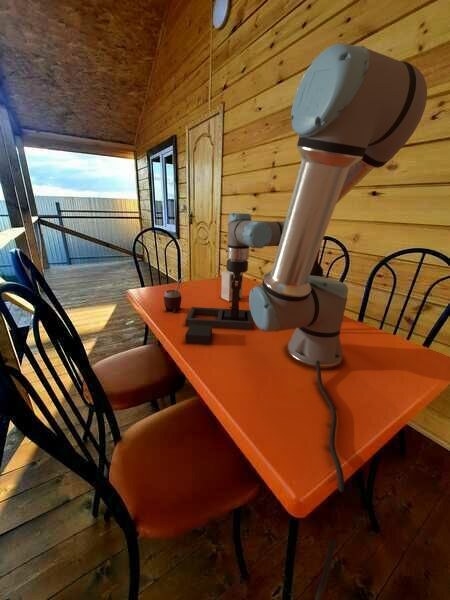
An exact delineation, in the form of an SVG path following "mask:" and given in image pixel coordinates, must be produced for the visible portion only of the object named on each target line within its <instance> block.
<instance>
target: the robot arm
mask: <svg viewBox="0 0 450 600" xmlns="http://www.w3.org/2000/svg"><path fill="white" fill-rule="evenodd" d="M427 99H428V86H427V82H426V79H425V76H424V74H423V73H422V72H421V70H420V69H419V68H418V67H417V66H416V65H414V64H413V63H410V62H407V61H404V60H403V61H402V60H399V59H395V58H393V57H390V56H387V55H385V54H382V53H380V52H377V51H375V50H372V49H370V48H368V47H366V46H364V45H353V44H348V43H344V42H339V43H334V44H332V45H330V46H328V47H326V48H325V49H324V50H323V51H321V52H320V53H319V54H318V55H317V56H316V57H315V58H314V59H313V61H312V63H311V64H310V66H309V67H307V70H306V71H305V72H304V74H303V76H302V78H301V80H300V82H299V85H298V87H297V89H296V92H295V95H294V97H293V102H292V107H291V112H290V113H291V114H290V117H291V119H292V120H291V127H292V129H293V131H294V133H295V134H296V135H297V136H298V140H297V144H296V149H297V151H298V153H299V155H300V157H301V161H300V165H299V169H298V172H297V176H296V180H295V183H294V188H293V191H292V195H291V198H290V202H289V206H288V210H287V213H286V217H285V218H284V220H282V221H279V220H278V221H275V220H274V221H271V220H252V215H251V214H250V213H244V212H231V213H229V215H228V222H227V249H225V253H226V258H227V260H226V271H229V272H233V274H234V275H231V282H232V284H231V288H232V289H233V290H232V301H231V305H230V306H229V309H231V320H234V321H238V315H239V310H240V300H241V297H239V293H240V289H241V282H242V275H240V273H241V272H243V274H244V273H246V272H248V271H249V261H248V260H249V258H250V248H251V249H264V248H266V247H277V250H276V254H275V257H274V261H273V265H272V268H271V270H269V271H267V272H265V273H264V275H263V278H262V281H261V285H256V286H253V287H252V288H251V290H250V291H249V295H248V305H249V310H250V311H251V316H252V321H253V322H254V324H255V325H256V327H257V328H258V329H259V330H260V331H262V332H265V333H270V332H275V333H277V332H282V331H288V330H294V332H293V333H292V335H291V337H290V339H289V340H288V343H287V349H286V351H287V354H288V356H289V357H290V358H291V359H292V360H294V361H295V362H296V363H298V364H301V365H303V366H305V367H309V368H313V369H316V374H317V375H316V376H317V383H318V387H319V390H320V391H321V393H322V395H323V397H324V398H325V400H326V402H327V403H328V406H329V408H330V412H331V425H330V430H329V431H330V432H329V450H330V454H331V458H332V460H333V463H334V466H335V471H336V477H337V489H338V491H339V492H340V493H345V480H344V479H345V478H344V472H343V468H342V464H341V461H340V459H339V456H338V453H337V450H336V446H335V445H336V444H335V441H336V439H335V438H336V437H335V436H336V431H337V423H338V418H337V411H336V408H335V405H334V403H333V401H332V399H331V398H330V396H329V395H328V393H327V392H326V390H325V387H324V385H323V382H322V381H323V380H322V371H321V370H329V369H334V368H338V367H339V366H340V365H341V363H342V359H343V349H342V343H341V337H340V335H341V330H342V325H343V320H344V317H345V316H344V315H345V311H346V306H347V301H348V300H349V299H348V294H349V288H348V286H347V284H345V283H344V282H342V281H340V280H337V279H333V278H329V277H324V276H323V277H320V276H311V275H310V273H311V270H312V268H313V265H314V262H315V259H316V257H317V254H318V251H319V249H320V250H321V246H322V243H323V241H324V238H325V235H326V232H327V229H328V227H329V224H330V222H331V218H332V216H333V214H334V210H335V208H336V205H337V204H338V203H339V202H341V200H342V199H343V198H344V197H346V195H348V193H350V192H351V191H352V190H353V189H354V188H355V187H356V186H357V185H358V184H359V183H360V182H361V181H362V180H363V179H364V178H366V176H368V174H369V173H371V172H372V170H374V169H381V168H383V167H384V166H385V165H386V164H387V163H388V162H389V161H390V160H392V158H394V157H395V156H396V155H397V154H398V153H399V152H400V151H401V149H403V147H404V146H405V145H406V144H407V143H408V141H409V140H410V138H411V137H412V136H413V135H414V133H415V131H416V129H417V127H418V126H419V124H420V123H421V120H422V117H423V116H424V112H425V110H426V106H427ZM336 544H337V539H334V538H329V543H328V548H327V552H326V557H325V562H324V566H323V570H322V574H321V577H320V581H319V584H318V588H317V591H316V594H315V597H314V600H322V597H323V595H324V590H325V587H326V584H327V581H328V579H329V578H328V577H329V574H330V570H331V566H332V562H333V557H334V553H335V548H336Z"/></svg>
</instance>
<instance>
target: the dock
mask: <svg viewBox="0 0 450 600" xmlns="http://www.w3.org/2000/svg"><path fill="white" fill-rule="evenodd" d="M225 309H226V308H217V307H216V308H215V307H199V306H198V307H196V306H192V307H191V308H190V310H189V311H188V314H187V316H186V318H185V327H189V326H190V325H207V326H212V328H218V329H234V330H239V329H240V330H250V331H251V330H253V318H252V315H251V311H250V309H244V310H245V318H246V320H245V321H234V320H224V319H223V318H224V314H225ZM196 315H199V316H200V315H201V316H217V317H216V319H215V318H213V319H212V318H194V317H195V316H196Z"/></svg>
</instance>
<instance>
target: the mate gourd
mask: <svg viewBox="0 0 450 600" xmlns="http://www.w3.org/2000/svg"><path fill="white" fill-rule="evenodd" d="M186 277H187V276H186V275H184V276H182V277H181V278H180V279H179V280H178V281H177V284H176V288H175V289H168V290H166V291H165V292H164V295H163V303H164V308H165V312H173V313H174V314H175V313H177V311H180V310H181V304H182V299H183V298H182V293H181V291H179V286H180V284H181V282H182V280H183V279H185V278H186Z"/></svg>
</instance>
